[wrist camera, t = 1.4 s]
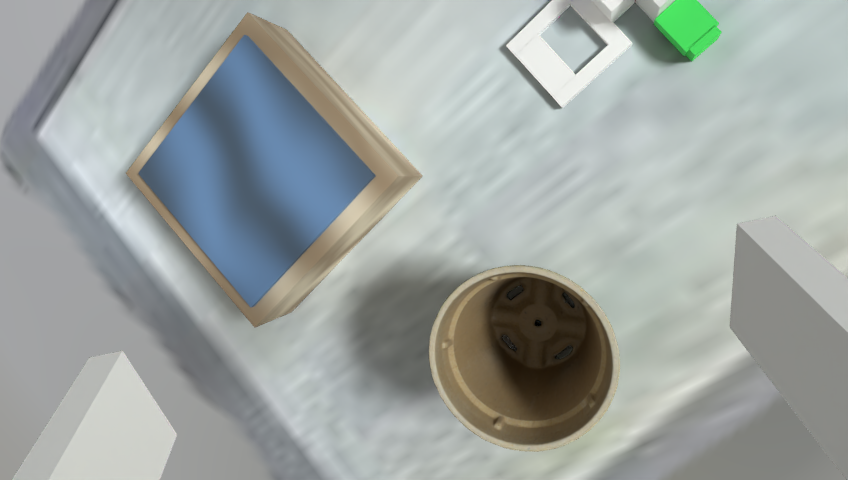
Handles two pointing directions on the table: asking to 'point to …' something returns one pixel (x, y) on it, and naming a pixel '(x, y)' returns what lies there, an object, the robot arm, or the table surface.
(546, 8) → the building block set
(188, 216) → the plinth
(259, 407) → the table surface
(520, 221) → the table surface
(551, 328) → the flower pot
